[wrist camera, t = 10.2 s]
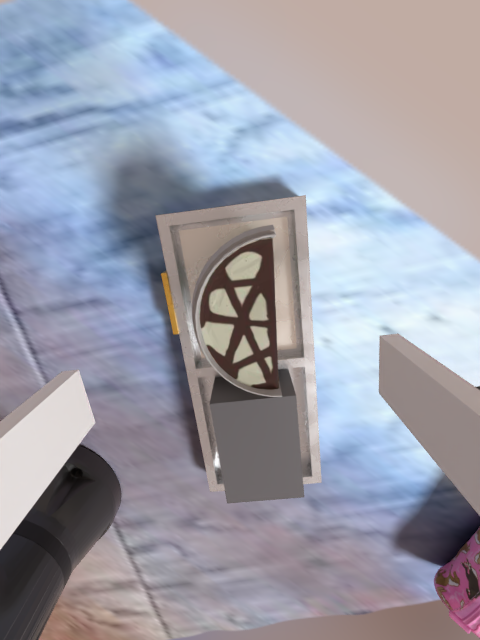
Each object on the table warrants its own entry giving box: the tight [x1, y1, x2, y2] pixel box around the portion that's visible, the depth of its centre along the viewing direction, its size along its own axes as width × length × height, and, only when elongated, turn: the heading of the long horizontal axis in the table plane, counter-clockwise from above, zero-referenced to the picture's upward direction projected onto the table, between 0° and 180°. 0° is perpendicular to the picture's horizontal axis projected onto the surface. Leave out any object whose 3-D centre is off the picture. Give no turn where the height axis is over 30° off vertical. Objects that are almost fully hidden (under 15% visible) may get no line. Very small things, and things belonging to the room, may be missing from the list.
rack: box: [156, 195, 321, 492], centre depth 32 cm, size 14×31×3 cm, turn 7°
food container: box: [192, 225, 282, 397], centre depth 25 cm, size 12×6×10 cm, turn 4°
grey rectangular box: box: [210, 370, 304, 503], centre depth 32 cm, size 8×12×5 cm, turn 7°
